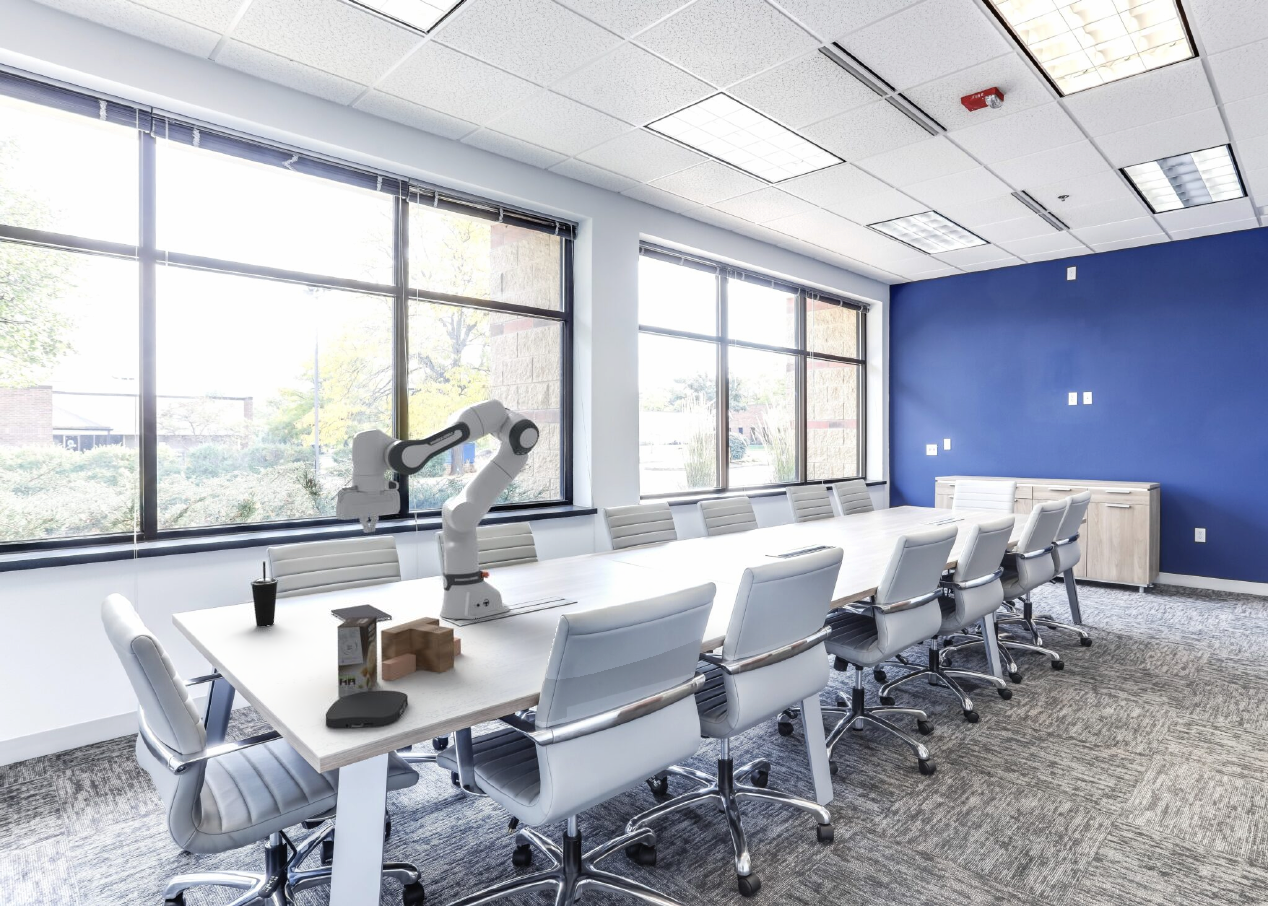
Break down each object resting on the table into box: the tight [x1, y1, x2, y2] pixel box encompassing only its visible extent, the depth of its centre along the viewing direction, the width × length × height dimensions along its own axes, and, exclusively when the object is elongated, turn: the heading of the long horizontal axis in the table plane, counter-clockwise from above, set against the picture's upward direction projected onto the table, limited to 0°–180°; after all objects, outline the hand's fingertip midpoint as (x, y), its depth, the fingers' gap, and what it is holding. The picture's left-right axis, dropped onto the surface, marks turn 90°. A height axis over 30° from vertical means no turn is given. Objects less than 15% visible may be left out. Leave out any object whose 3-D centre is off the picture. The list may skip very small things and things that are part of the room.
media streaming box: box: [325, 689, 409, 730], centre depth 146 cm, size 15×15×3 cm
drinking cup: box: [250, 561, 279, 627], centre depth 218 cm, size 8×8×20 cm
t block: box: [380, 616, 455, 674], centre depth 177 cm, size 15×15×10 cm
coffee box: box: [336, 617, 378, 698], centre depth 160 cm, size 9×6×16 cm
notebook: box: [330, 604, 393, 622], centre depth 228 cm, size 13×2×21 cm
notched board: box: [381, 637, 462, 681], centre depth 178 cm, size 3×24×4 cm, turn 151°
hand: (369, 532), depth 202 cm, fingers closed
